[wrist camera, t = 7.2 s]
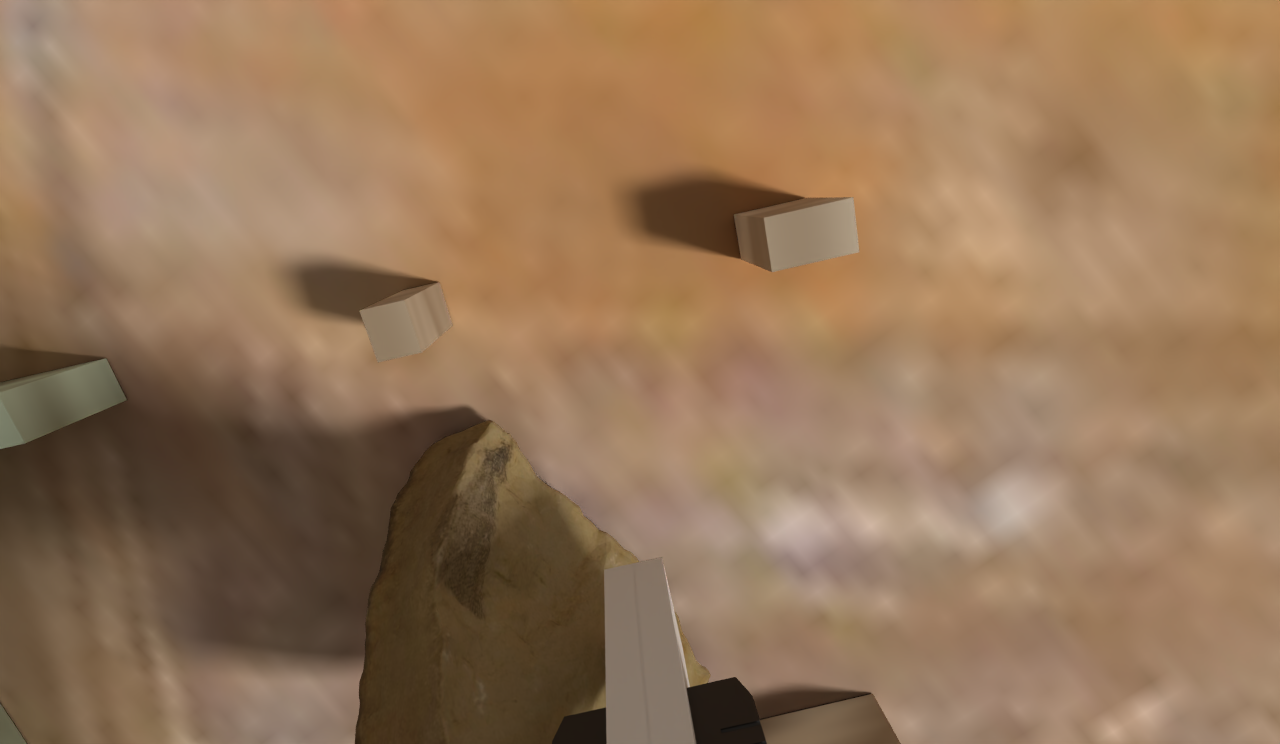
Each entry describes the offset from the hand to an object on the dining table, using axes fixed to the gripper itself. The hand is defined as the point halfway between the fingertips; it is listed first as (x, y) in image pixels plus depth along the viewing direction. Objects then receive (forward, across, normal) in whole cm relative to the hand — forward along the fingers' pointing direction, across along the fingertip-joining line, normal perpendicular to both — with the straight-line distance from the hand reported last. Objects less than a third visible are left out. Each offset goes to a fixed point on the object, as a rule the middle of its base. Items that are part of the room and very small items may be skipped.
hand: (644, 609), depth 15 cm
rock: (+4, +2, 0) cm, 4 cm away
